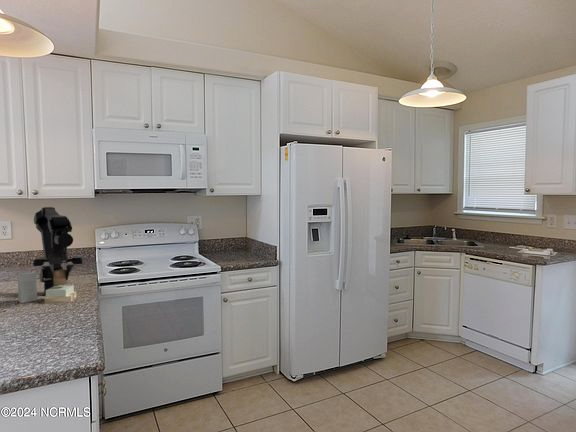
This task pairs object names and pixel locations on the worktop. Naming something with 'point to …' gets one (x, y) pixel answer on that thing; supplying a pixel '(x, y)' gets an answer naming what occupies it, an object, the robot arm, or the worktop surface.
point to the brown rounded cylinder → (59, 277)
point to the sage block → (59, 291)
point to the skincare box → (27, 287)
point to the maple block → (60, 298)
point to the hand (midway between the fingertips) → (60, 280)
